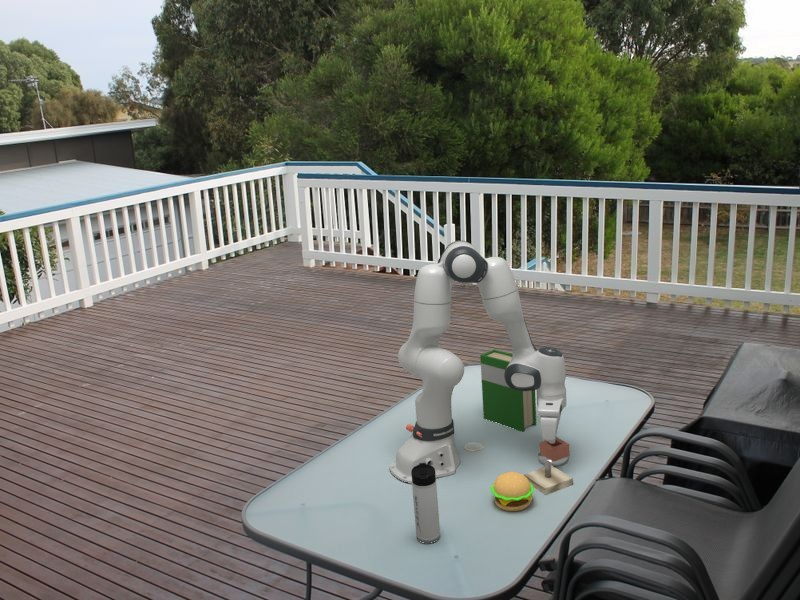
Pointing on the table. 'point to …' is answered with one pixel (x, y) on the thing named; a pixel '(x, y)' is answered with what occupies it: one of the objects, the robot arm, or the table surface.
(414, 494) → the travel mug
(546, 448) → the brown square ring block
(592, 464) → the table surface
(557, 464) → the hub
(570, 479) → the stand
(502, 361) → the hardback book
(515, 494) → the hamburger
